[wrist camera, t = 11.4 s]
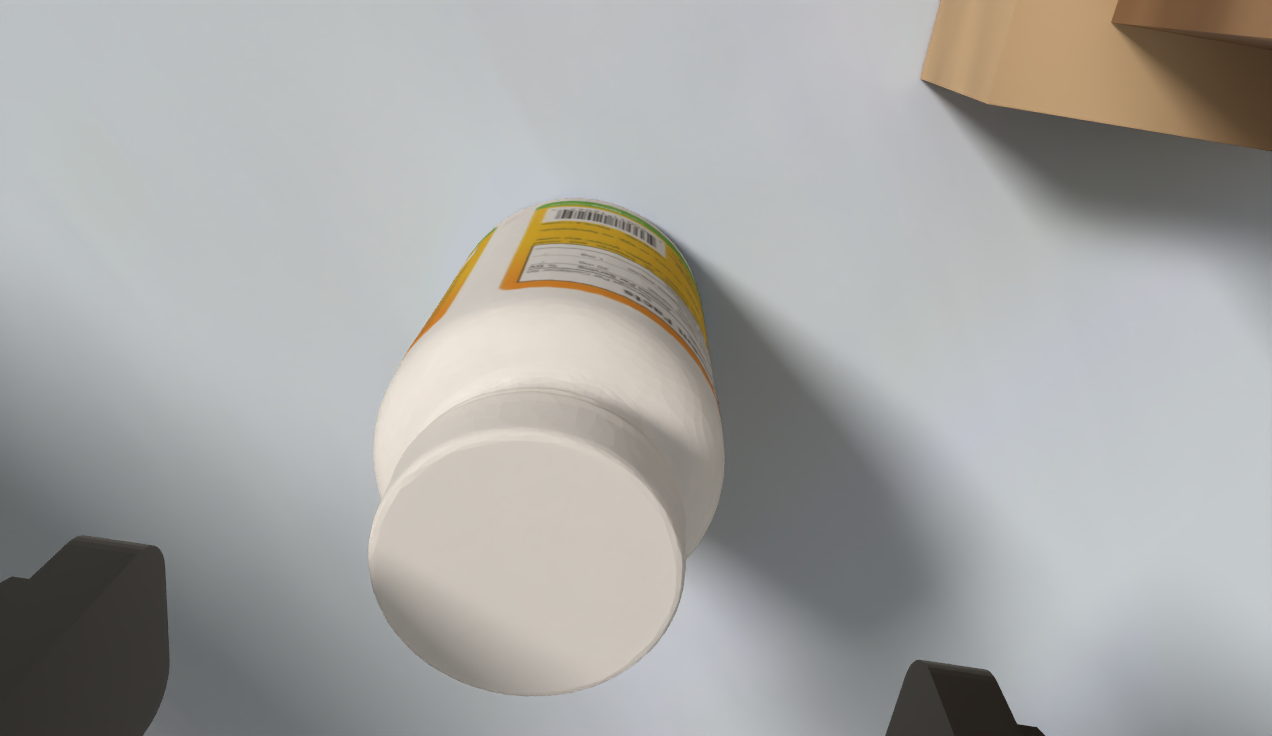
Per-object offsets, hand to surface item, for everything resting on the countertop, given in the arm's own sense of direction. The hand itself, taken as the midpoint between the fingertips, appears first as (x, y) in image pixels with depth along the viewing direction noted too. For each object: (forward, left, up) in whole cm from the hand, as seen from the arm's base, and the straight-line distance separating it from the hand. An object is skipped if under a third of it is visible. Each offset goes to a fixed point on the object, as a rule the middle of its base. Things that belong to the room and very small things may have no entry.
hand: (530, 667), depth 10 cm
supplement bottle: (0, 0, -12) cm, 12 cm away
